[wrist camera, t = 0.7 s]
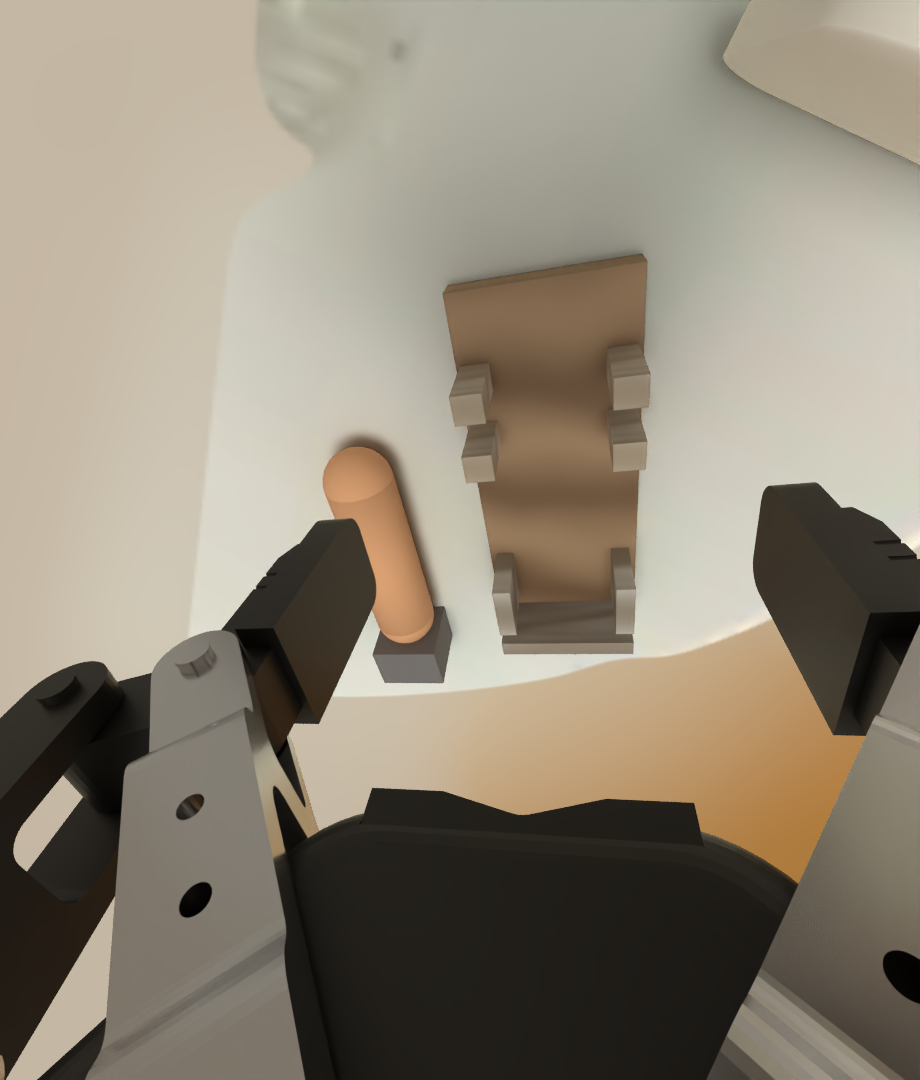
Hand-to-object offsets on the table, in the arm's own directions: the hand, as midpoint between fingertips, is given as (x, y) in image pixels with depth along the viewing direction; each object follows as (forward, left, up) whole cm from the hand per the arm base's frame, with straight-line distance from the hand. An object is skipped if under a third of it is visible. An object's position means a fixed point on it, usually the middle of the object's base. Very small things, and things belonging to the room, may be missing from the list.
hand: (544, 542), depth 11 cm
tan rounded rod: (+15, -11, -18) cm, 25 cm away
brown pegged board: (+9, 0, -17) cm, 20 cm away
